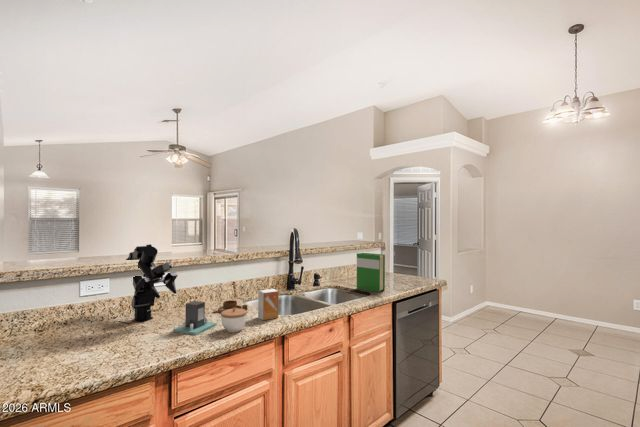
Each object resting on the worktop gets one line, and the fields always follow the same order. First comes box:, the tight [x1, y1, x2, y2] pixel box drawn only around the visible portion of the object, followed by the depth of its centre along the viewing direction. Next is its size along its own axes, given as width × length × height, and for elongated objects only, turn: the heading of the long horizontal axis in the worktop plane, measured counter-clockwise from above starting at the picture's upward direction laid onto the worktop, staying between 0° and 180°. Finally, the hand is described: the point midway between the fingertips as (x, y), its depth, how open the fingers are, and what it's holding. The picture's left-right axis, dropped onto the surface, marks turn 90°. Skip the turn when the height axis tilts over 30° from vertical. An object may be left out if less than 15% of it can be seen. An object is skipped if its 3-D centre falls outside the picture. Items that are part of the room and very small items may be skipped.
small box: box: [257, 288, 280, 321], centre depth 157 cm, size 8×6×13 cm
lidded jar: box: [220, 308, 248, 333], centre depth 139 cm, size 11×11×9 cm
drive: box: [184, 300, 206, 329], centre depth 141 cm, size 6×5×10 cm
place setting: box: [212, 299, 248, 314], centre depth 164 cm, size 18×20×6 cm
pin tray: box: [172, 317, 217, 336], centre depth 141 cm, size 12×13×4 cm
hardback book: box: [356, 252, 386, 293], centre depth 220 cm, size 18×7×24 cm, turn 50°
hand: (167, 295), depth 143 cm, fingers open, 9 cm apart
